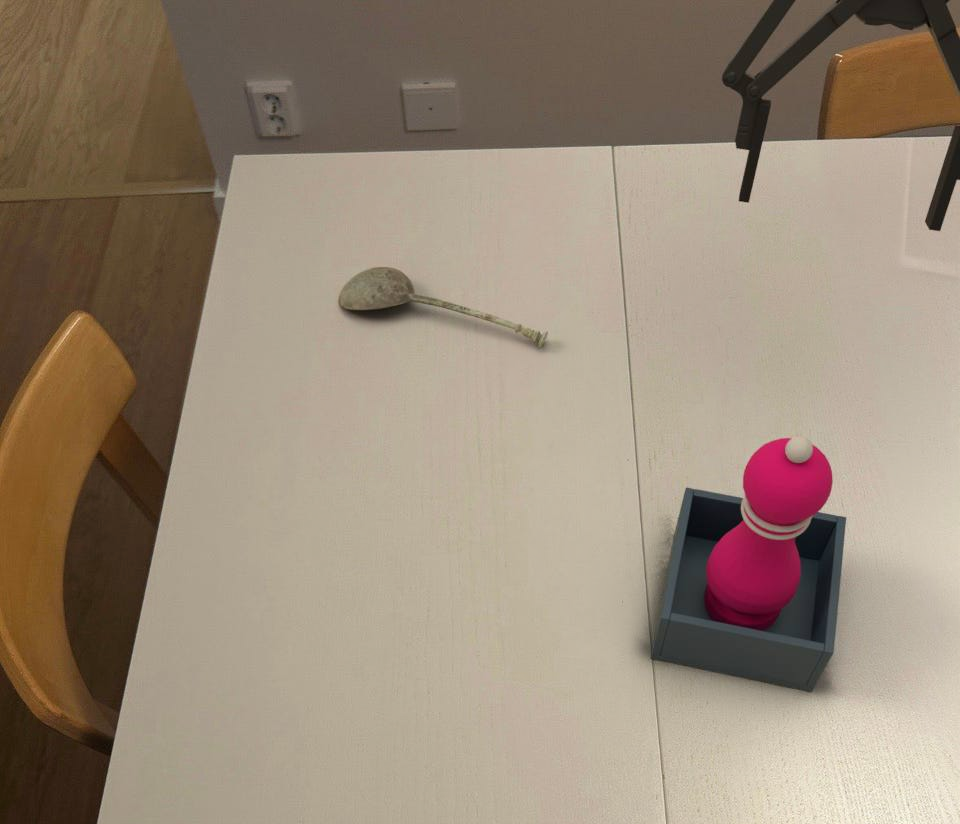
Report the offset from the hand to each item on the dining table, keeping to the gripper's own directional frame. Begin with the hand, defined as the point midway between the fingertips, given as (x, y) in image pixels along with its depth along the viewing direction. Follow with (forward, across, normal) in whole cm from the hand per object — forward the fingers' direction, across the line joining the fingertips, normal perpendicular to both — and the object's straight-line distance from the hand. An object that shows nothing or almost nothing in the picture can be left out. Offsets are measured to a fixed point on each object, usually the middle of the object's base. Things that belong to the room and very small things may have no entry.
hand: (836, 212), depth 78 cm
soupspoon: (+18, +33, -16) cm, 41 cm away
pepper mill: (+29, 0, +8) cm, 30 cm away
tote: (+30, 0, +8) cm, 31 cm away
